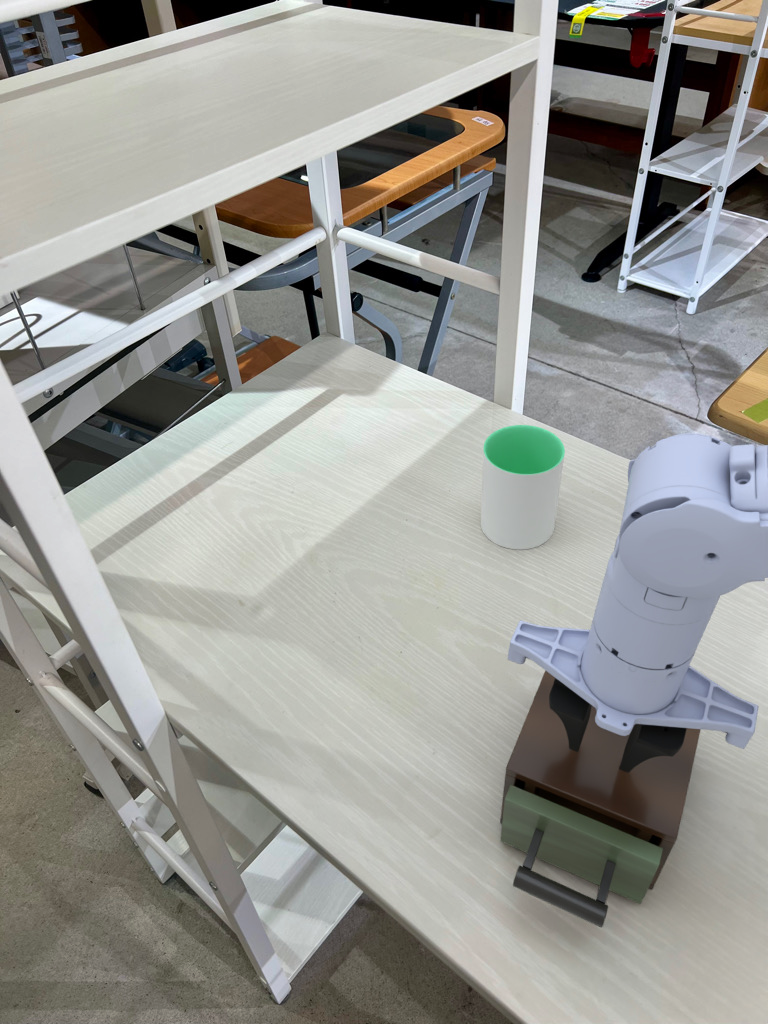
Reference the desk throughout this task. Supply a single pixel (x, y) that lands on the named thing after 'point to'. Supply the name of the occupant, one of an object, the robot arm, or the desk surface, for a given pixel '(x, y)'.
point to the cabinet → (602, 773)
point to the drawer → (576, 851)
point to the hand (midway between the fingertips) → (602, 748)
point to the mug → (521, 486)
